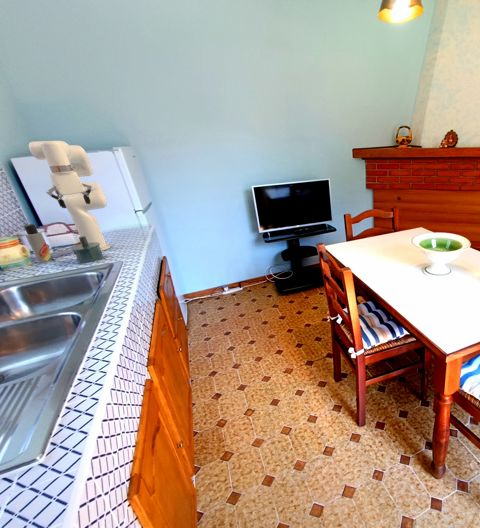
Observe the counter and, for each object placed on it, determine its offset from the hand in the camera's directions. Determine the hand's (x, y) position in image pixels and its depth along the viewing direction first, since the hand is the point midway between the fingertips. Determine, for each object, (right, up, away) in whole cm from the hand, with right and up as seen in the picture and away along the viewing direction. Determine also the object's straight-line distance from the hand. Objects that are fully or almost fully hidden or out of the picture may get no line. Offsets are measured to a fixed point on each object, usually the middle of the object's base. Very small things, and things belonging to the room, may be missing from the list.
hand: (76, 205), depth 147 cm
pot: (+2, -27, +6) cm, 28 cm away
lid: (+2, -20, +3) cm, 20 cm away
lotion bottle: (-22, -28, +7) cm, 36 cm away
